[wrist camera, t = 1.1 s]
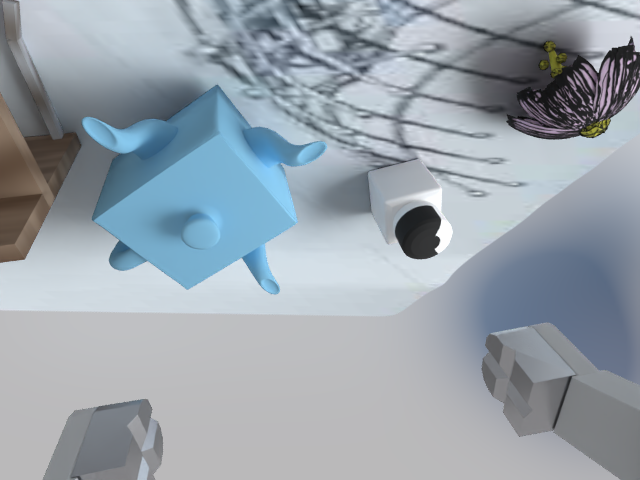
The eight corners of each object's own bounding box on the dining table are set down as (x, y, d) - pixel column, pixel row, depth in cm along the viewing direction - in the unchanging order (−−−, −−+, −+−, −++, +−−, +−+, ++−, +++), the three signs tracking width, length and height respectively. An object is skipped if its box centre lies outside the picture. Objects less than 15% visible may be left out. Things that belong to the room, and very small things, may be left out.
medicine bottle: (371, 213, 58) (400, 273, 49) (366, 170, 53) (398, 228, 44) (419, 200, 58) (457, 257, 49) (419, 157, 53) (461, 211, 45)
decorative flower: (522, 188, 47) (620, 72, 35) (462, 122, 53) (529, 0, 40) (604, 160, 53) (713, 51, 40) (542, 102, 58) (622, -10, 45)
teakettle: (119, 213, 50) (94, 305, 39) (109, 52, 39) (69, 118, 28) (273, 224, 56) (288, 307, 45) (302, 87, 45) (332, 152, 34)
